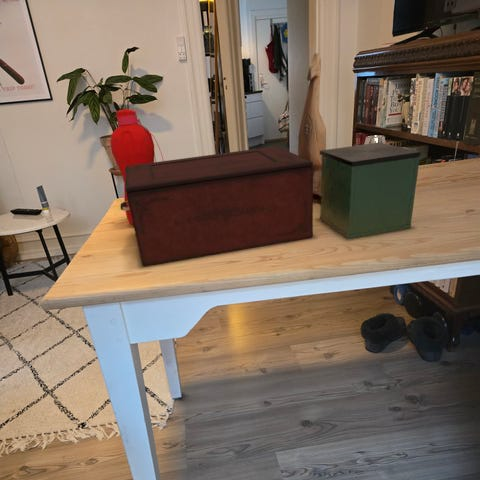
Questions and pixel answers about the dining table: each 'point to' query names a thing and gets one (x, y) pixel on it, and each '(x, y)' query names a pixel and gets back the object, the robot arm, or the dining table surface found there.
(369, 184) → the green cube bin
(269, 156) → the storage box
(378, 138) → the wineglass
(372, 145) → the black flat panel
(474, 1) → the robot arm
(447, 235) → the dining table surface
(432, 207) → the dining table surface
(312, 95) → the bird sculpture
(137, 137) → the water bottle
